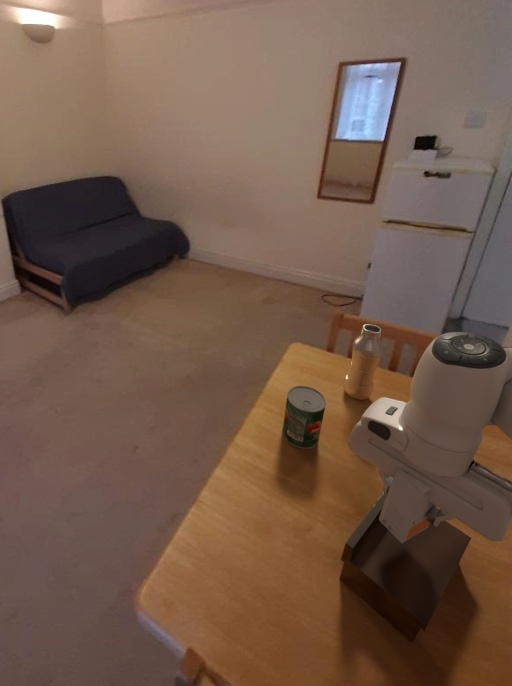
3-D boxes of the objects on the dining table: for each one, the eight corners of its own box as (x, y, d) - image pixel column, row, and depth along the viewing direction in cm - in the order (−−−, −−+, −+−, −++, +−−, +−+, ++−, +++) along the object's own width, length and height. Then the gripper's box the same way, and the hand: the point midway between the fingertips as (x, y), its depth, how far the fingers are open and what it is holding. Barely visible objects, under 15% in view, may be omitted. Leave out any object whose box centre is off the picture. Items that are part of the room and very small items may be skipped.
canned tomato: (281, 418, 96) (286, 382, 91) (317, 424, 94) (324, 388, 89) (282, 445, 89) (287, 408, 84) (320, 452, 87) (328, 414, 82)
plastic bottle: (345, 381, 107) (359, 317, 98) (373, 391, 103) (390, 326, 94) (339, 396, 102) (353, 330, 93) (368, 407, 98) (386, 339, 90)
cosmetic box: (402, 545, 60) (422, 493, 55) (377, 520, 64) (394, 468, 59) (429, 528, 63) (451, 476, 57) (404, 504, 66) (422, 453, 61)
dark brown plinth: (460, 559, 67) (477, 526, 63) (416, 647, 57) (433, 614, 53) (385, 507, 76) (396, 474, 72) (336, 576, 66) (345, 542, 62)
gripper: (538, 478, 50) (501, 545, 56) (370, 391, 64) (355, 452, 70) (525, 510, 46) (486, 578, 52) (351, 410, 61) (336, 473, 67)
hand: (410, 505), depth 61 cm, fingers closed on cosmetic box, 5 cm apart
